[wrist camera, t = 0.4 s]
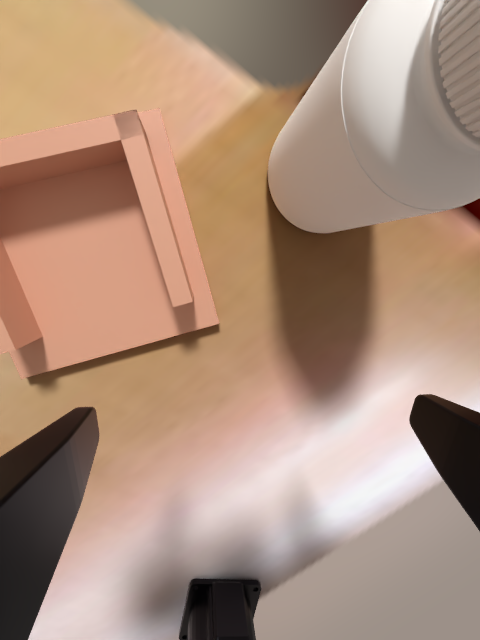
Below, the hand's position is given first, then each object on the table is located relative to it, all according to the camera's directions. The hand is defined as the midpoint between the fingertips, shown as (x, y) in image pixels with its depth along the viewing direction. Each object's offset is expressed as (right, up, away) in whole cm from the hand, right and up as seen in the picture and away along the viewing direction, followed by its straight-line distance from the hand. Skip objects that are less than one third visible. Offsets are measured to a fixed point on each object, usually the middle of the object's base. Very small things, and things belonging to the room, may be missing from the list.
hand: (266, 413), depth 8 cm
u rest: (-11, +7, +12) cm, 17 cm away
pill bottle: (+5, +13, +13) cm, 19 cm away
